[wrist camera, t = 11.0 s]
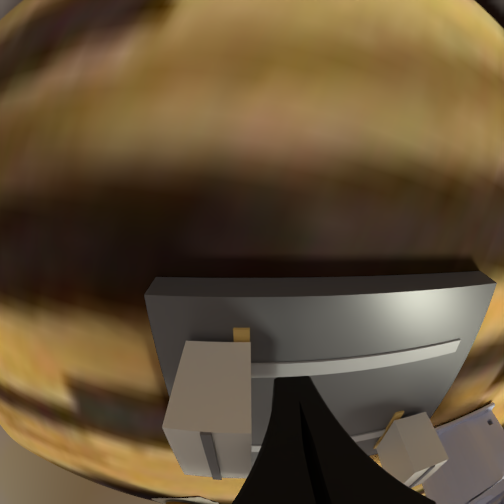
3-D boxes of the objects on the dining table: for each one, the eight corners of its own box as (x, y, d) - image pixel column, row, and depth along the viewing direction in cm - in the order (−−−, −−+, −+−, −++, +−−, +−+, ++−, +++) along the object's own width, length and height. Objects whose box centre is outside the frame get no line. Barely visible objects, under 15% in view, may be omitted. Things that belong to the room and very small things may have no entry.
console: (480, 270, 11) (497, 284, 10) (405, 430, 16) (411, 445, 15) (155, 276, 11) (143, 296, 9) (196, 449, 16) (194, 467, 14)
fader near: (250, 342, 10) (251, 436, 6) (250, 400, 11) (251, 480, 7) (185, 340, 10) (161, 430, 6) (197, 398, 11) (184, 476, 7)
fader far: (425, 411, 13) (449, 460, 9) (405, 440, 14) (422, 484, 10) (394, 420, 12) (415, 473, 9) (376, 448, 14) (391, 495, 10)
